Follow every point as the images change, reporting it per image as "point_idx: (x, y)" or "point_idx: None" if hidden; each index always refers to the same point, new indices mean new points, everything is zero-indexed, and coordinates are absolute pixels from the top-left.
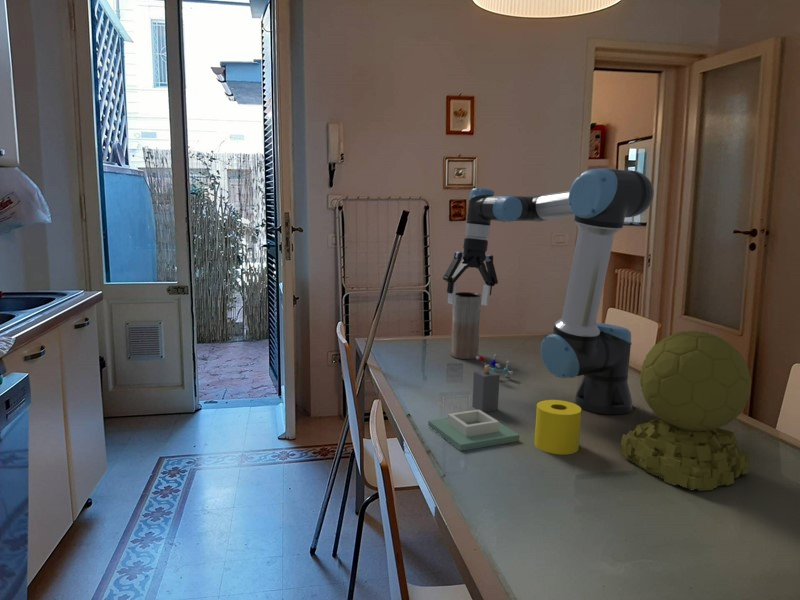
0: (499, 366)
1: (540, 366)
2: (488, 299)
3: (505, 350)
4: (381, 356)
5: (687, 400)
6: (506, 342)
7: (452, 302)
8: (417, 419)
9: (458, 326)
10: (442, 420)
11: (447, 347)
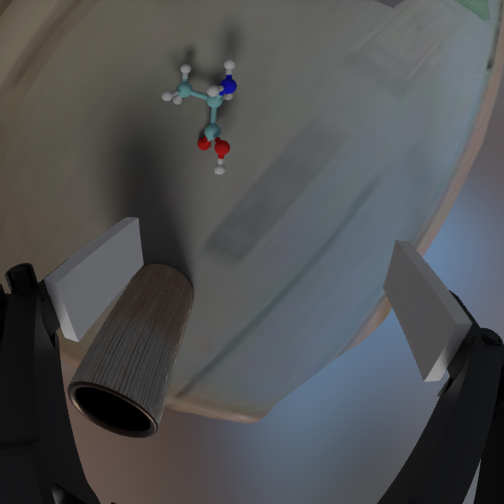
0: (231, 59)
1: (59, 147)
2: (107, 232)
3: None
4: (325, 355)
5: None
6: None
7: (412, 247)
8: (486, 45)
9: (173, 336)
10: (475, 4)
11: None
